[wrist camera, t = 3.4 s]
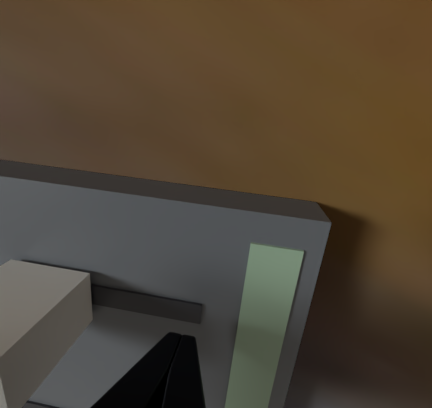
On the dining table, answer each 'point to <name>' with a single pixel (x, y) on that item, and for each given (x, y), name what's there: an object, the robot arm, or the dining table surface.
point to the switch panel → (169, 277)
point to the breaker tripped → (37, 324)
